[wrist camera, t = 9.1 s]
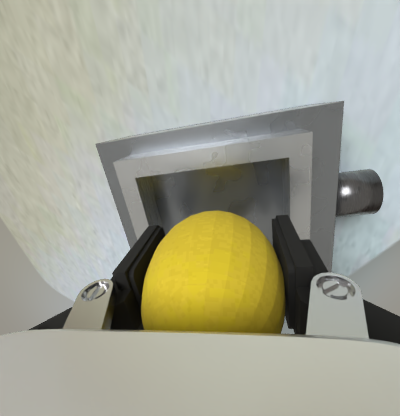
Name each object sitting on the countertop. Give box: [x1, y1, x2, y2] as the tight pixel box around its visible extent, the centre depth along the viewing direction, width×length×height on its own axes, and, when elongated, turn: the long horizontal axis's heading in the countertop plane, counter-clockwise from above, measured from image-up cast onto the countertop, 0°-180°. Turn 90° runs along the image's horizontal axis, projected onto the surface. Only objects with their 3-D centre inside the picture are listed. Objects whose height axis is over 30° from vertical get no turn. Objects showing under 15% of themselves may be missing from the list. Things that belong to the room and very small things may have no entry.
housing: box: [96, 101, 383, 273], centre depth 16 cm, size 17×12×7 cm
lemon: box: [141, 210, 285, 334], centre depth 9 cm, size 6×6×8 cm
